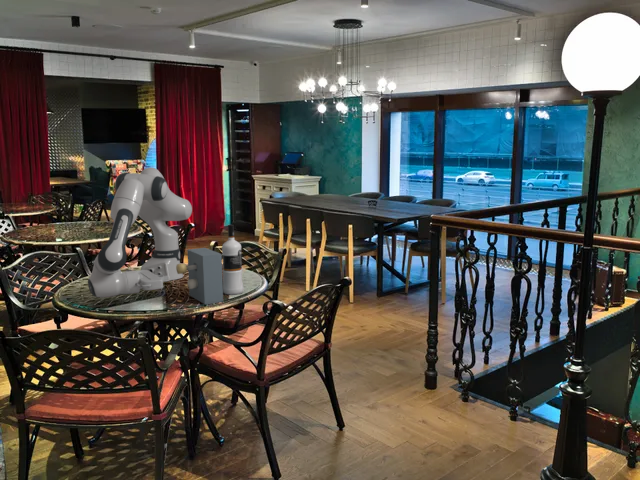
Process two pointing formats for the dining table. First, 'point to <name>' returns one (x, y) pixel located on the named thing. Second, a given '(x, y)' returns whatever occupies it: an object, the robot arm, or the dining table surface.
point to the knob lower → (192, 283)
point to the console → (206, 275)
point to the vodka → (232, 265)
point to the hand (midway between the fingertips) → (167, 277)
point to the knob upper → (184, 268)
